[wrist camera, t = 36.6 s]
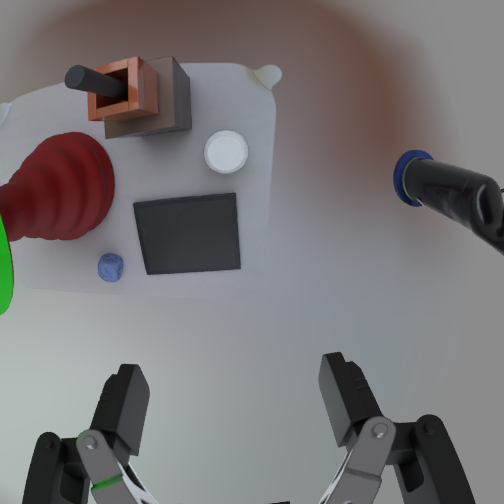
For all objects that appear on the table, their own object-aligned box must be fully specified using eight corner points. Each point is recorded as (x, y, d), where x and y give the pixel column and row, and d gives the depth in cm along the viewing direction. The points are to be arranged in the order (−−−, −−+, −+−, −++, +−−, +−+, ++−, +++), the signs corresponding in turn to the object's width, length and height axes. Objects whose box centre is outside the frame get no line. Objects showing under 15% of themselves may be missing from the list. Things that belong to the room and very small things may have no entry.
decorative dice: (122, 274, 50) (116, 284, 47) (105, 269, 50) (97, 279, 46) (123, 256, 49) (116, 265, 45) (105, 252, 48) (97, 261, 44)
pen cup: (157, 71, 25) (137, 55, 18) (159, 113, 27) (138, 108, 20) (115, 81, 25) (87, 70, 18) (117, 122, 27) (88, 121, 20)
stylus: (142, 87, 25) (84, 61, 12) (143, 101, 26) (84, 84, 13) (128, 90, 25) (64, 69, 12) (128, 104, 26) (64, 91, 13)
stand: (189, 78, 37) (172, 55, 24) (192, 128, 41) (175, 126, 28) (137, 86, 36) (102, 72, 24) (140, 136, 40) (105, 139, 27)
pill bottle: (245, 168, 44) (249, 178, 34) (207, 167, 44) (200, 177, 33) (246, 131, 42) (251, 130, 31) (208, 130, 41) (201, 129, 31)
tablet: (235, 192, 46) (235, 194, 45) (240, 266, 52) (240, 269, 50) (134, 202, 45) (132, 204, 44) (148, 272, 51) (146, 275, 50)
